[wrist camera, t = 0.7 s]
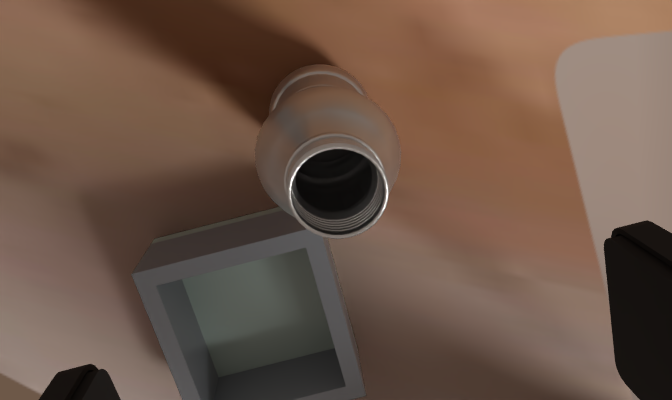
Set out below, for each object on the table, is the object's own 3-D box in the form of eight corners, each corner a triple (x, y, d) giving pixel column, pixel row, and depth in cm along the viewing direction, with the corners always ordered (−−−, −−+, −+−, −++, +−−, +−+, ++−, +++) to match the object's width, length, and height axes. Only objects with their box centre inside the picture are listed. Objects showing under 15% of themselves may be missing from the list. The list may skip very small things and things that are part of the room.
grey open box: (357, 348, 45) (366, 396, 39) (210, 385, 45) (198, 438, 39) (316, 197, 41) (319, 226, 35) (154, 238, 41) (131, 274, 35)
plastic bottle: (359, 158, 40) (415, 282, 21) (266, 147, 39) (237, 266, 20) (372, 67, 38) (447, 115, 19) (274, 55, 37) (251, 91, 18)
